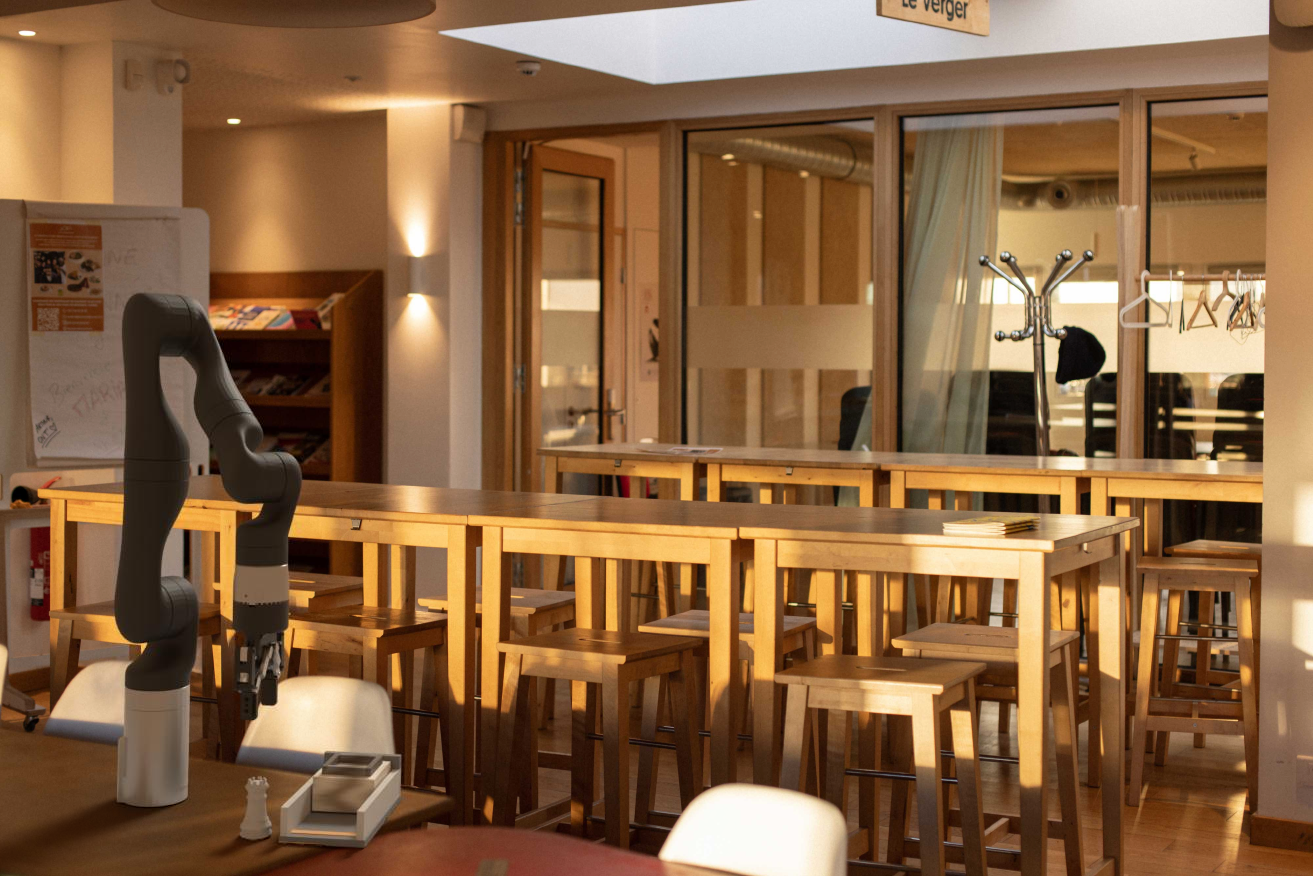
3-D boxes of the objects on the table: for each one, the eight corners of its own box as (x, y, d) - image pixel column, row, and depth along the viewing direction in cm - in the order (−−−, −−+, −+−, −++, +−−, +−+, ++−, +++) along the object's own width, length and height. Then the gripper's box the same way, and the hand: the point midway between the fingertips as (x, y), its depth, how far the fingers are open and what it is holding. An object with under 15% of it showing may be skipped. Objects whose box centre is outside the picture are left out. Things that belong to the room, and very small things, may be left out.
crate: (312, 810, 207) (313, 768, 207) (331, 790, 217) (332, 750, 217) (373, 813, 207) (374, 771, 207) (389, 793, 217) (390, 753, 217)
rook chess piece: (263, 842, 197) (264, 785, 197) (233, 839, 198) (234, 782, 197) (278, 832, 201) (279, 776, 201) (248, 829, 202) (250, 773, 202)
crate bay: (278, 843, 197) (279, 792, 197) (323, 796, 219) (324, 750, 219) (364, 847, 196) (366, 797, 196) (401, 800, 218) (402, 754, 218)
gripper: (251, 587, 205) (249, 699, 206) (216, 603, 191) (214, 723, 192) (303, 589, 205) (301, 701, 206) (271, 605, 191) (269, 726, 192)
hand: (259, 712), depth 199 cm, fingers open, 8 cm apart
